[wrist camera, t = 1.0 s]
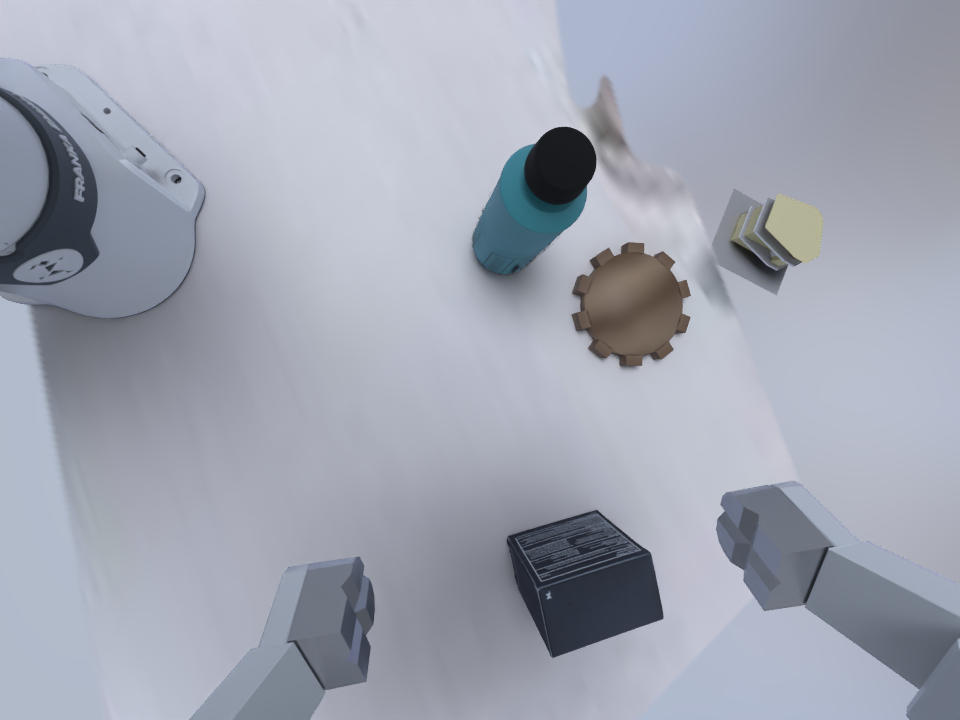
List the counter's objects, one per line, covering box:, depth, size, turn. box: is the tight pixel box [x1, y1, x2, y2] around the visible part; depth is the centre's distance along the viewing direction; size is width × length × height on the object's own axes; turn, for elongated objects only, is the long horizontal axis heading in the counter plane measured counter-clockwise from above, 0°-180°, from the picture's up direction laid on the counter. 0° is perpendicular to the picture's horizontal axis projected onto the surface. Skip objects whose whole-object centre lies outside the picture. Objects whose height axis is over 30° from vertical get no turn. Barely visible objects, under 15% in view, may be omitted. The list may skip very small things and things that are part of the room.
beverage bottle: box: [472, 127, 596, 275], centre depth 35 cm, size 6×7×20 cm
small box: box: [507, 510, 663, 658], centre depth 41 cm, size 11×6×10 cm, turn 103°
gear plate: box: [572, 242, 691, 366], centre depth 46 cm, size 13×13×2 cm
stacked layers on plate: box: [711, 189, 823, 295], centre depth 47 cm, size 10×9×6 cm
